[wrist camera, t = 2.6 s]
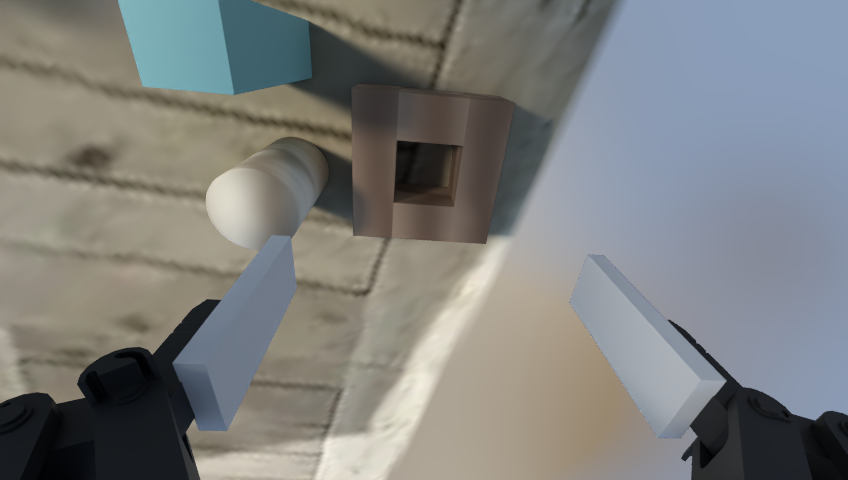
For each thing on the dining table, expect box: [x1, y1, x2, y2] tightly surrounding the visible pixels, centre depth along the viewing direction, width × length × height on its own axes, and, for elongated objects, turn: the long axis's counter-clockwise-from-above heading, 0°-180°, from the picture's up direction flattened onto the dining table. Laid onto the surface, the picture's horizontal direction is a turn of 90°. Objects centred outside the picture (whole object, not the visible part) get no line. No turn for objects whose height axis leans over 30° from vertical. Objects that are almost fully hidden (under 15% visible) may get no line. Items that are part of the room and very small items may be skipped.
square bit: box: [118, 0, 312, 95], centre depth 20 cm, size 4×4×14 cm
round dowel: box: [206, 137, 329, 251], centre depth 27 cm, size 6×6×10 cm
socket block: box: [351, 83, 515, 244], centre depth 29 cm, size 12×12×5 cm
